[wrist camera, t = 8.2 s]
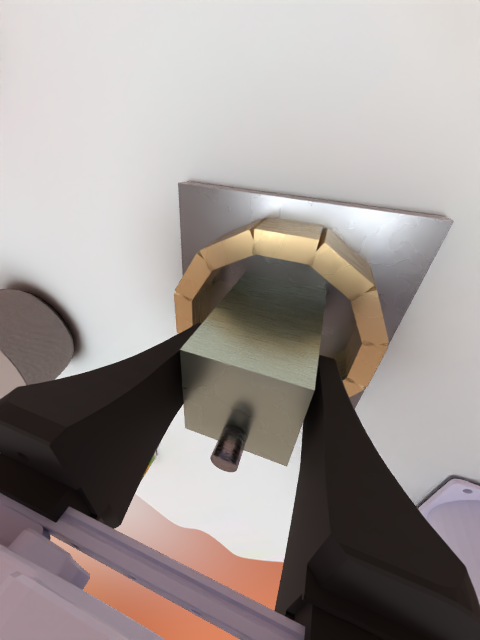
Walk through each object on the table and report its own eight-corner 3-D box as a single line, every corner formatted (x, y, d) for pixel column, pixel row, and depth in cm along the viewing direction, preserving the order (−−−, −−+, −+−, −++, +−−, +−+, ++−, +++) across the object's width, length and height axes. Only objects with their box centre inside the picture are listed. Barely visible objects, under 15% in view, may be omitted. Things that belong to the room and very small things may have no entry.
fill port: (445, 216, 11) (481, 237, 8) (351, 401, 17) (353, 447, 15) (188, 181, 13) (147, 188, 11) (193, 353, 20) (169, 385, 17)
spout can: (326, 290, 13) (310, 425, 6) (307, 354, 15) (280, 499, 9) (244, 272, 14) (158, 374, 7) (238, 335, 16) (170, 453, 10)
